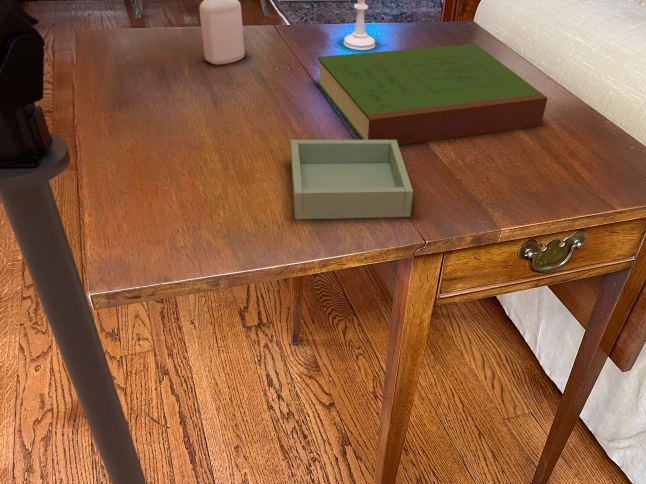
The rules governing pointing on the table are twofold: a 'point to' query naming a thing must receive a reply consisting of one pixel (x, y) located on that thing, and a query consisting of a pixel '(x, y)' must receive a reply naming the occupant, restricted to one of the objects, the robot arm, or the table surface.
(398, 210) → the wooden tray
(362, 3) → the chess piece
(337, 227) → the table surface
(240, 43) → the eye dropper bottle
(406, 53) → the hardcover book
